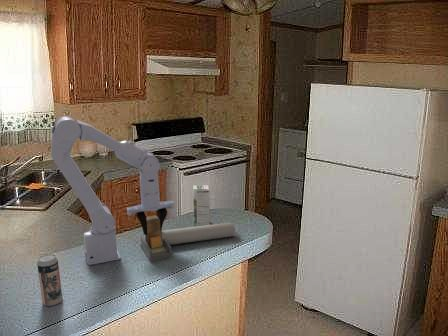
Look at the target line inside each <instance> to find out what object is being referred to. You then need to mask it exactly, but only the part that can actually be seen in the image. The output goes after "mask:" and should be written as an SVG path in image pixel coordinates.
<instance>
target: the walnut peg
mask: <svg viewBox="0 0 448 336" xmlns="http://www.w3.org/2000/svg"><path fill="white" fill-rule="evenodd" d="M146 217H147V218H146V227H147V235H144V237H145V238H144V239H145V241H146V242H147V244H148V245H151V244H150V238H152V237H157V236H160V237H161V232H160V219H159V218H158V217H157V215H150V216H146Z"/></svg>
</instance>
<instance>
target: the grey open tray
mask: <svg viewBox="0 0 448 336" xmlns="http://www.w3.org/2000/svg"><path fill="white" fill-rule="evenodd" d="M140 248H141V250H142V251H143V252H144V254H146V255H145V257H146V258H147V259H149V260H148V261H149V263H152V262H153V263H154V262H157V261H163V260H167V259H168V260H169V259H171V258H173V255H174V254H173V252H172V251H173V250H172V245H170V244H169V243H168V242H167V241H166V239H165V238H164V239H163V245H162V235H161V247H156V248H151V245H148V244H147V242H146V240H145V238H144V237H143V235H142V236H140Z"/></svg>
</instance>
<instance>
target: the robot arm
mask: <svg viewBox="0 0 448 336" xmlns="http://www.w3.org/2000/svg"><path fill="white" fill-rule="evenodd" d="M78 139H79V140H80V141H89V140H91V141H93V142H95V143H97V144H99V145H100V146H103V147H105V148H107V149H109V150H111V151H113V152H114V154H115V157H116V158H117V159H119V160H121V161H123V162H124V163H127V164H129V165H131V166H132V167H135V168H138V169H139V187H140V190H139V191H140V202H141V204H138V205H134V206H130V207H126V214H127V215H128V216H132V215H136V217H137V218H138V221H139V223H140V226H141V228H142V231H143V235H144V236H145V235H147V227H146V218H147V217H148V216H146V213H148V212H155V213H156V215H157V217H158V218H159V219H160V232H161V231H163V226H164V222H165V219H166V217H167V216H168V210H167V209H171V210H172V209H175V202H174V201H173V200H169V201H167V200H166V201H160V199H161V198H160V186H159V185H160V183H159V182H160V181H159V170H160V168H161V163H160V161H159V160H158V159H159V158H157V157H156V156H155V155H154V154H152V153H151V152H150V151H148V149H146V148H144V149H143V148H141V147H139V146H137V145H135V142H134V141H132V140H129V141H128V140H123V141H119V140H117V139H115V138H114V137H112V136H110V135H108V134H107V133H105V132H103V131H102V130H100V129H98V128H96V127H94V126H92V125H91V124H89V123H87V122H83V121H81V120H79V119H77V121H76V120H75V118H74V117H72V116H70V115H63V116H59V117H58V118H57V119H56V120H55V122H54V125H53V127H52V129H51V142H50V157H51V159H52V160H53V162H54V164H55V165H56V166H57V168H58V170H59V171H60V172H61V174H62V175H63V177H64V178H65V180H66V182H67V183H68V184H69V186H70V187H71V189H72V191H74V194H75V195H76V197H77V198H78V199H79V201H80V202H81V204H82V206H83V207H84V208H85V209H86V212H87V213H88V217H89V220H90V221H91V223H92V225H91V227H90V229H89V231H85V232H83V242H84V243H83V244H84V257H85V258H86V262H87V265H88V266H92V265H98V264H103V263H107V262H112V261H118V260H121V259H122V258H121V255H120V253H119V251H118V247H117V245H118V244H117V234H116V219H115V217H114V216H113V214H112V213H111V210H110V208H109V207H108V206H107V205H106V204H104V203H102V201H101V200H100V198H99V197H98V196H97V194H96V192H95V191H94V190H93V188H92V187H91V185H90V183H89V182H88V181H87V179H86V176H84V174H83V173H82V171H81V170H80V168H79V166H78V164H77V163H76V161H75V160H74V158H73V157H72V155H71V152H72V150H73V146H74V145H75V143H76V142H77V141H78Z"/></svg>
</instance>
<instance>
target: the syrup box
mask: <svg viewBox="0 0 448 336" xmlns="http://www.w3.org/2000/svg"><path fill="white" fill-rule="evenodd" d="M192 189H193V190H192V191H193V197H192V199H193V200H192V204H193V207H192V208H193V227H196V226H204V225H211V207H210V205H211V202H210V197H211V196H210V195H211V193H210V185H209V184H193V187H192Z"/></svg>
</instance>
